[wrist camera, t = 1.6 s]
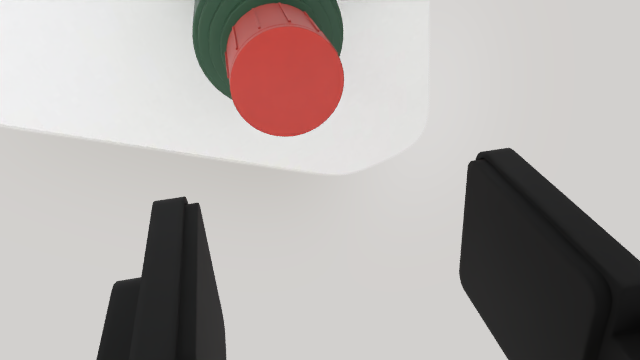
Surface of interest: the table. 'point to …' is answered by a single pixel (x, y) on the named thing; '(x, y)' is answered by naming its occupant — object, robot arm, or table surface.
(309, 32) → the cap
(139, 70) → the table surface
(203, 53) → the bottle
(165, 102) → the table surface
